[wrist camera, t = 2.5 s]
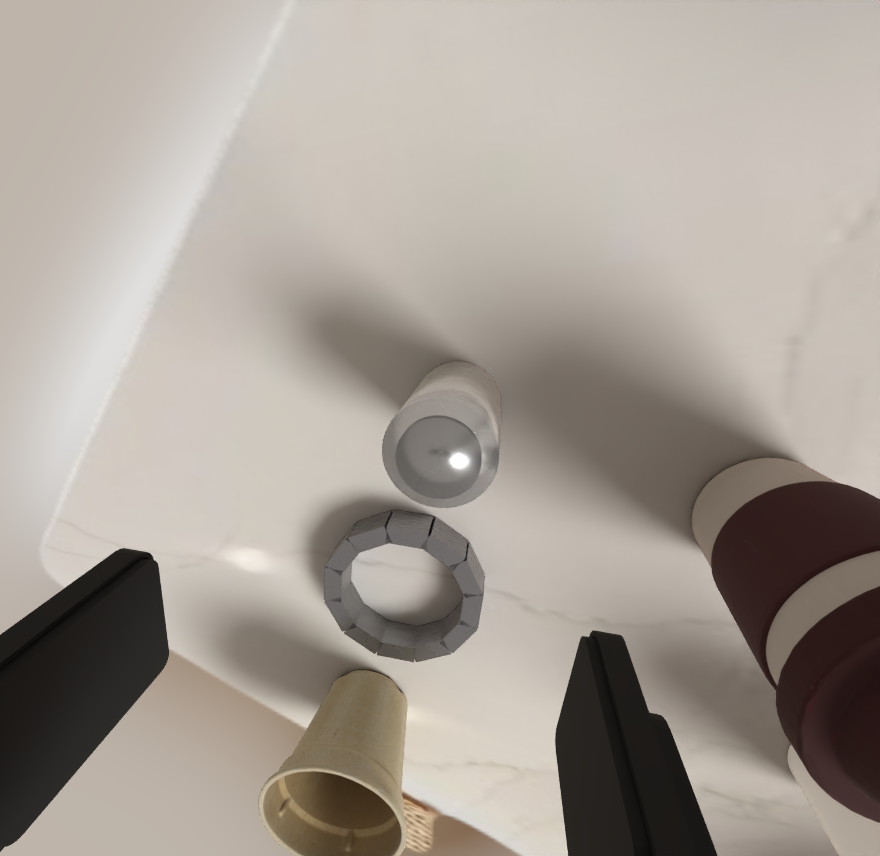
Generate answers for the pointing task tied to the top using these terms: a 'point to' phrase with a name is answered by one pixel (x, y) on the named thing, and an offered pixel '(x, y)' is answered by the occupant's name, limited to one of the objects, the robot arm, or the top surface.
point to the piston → (446, 437)
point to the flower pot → (344, 775)
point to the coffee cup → (806, 609)
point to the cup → (837, 816)
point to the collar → (393, 635)
